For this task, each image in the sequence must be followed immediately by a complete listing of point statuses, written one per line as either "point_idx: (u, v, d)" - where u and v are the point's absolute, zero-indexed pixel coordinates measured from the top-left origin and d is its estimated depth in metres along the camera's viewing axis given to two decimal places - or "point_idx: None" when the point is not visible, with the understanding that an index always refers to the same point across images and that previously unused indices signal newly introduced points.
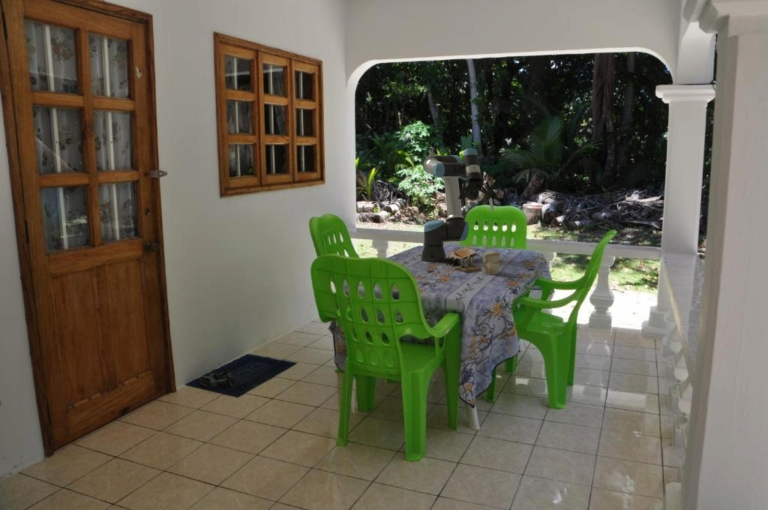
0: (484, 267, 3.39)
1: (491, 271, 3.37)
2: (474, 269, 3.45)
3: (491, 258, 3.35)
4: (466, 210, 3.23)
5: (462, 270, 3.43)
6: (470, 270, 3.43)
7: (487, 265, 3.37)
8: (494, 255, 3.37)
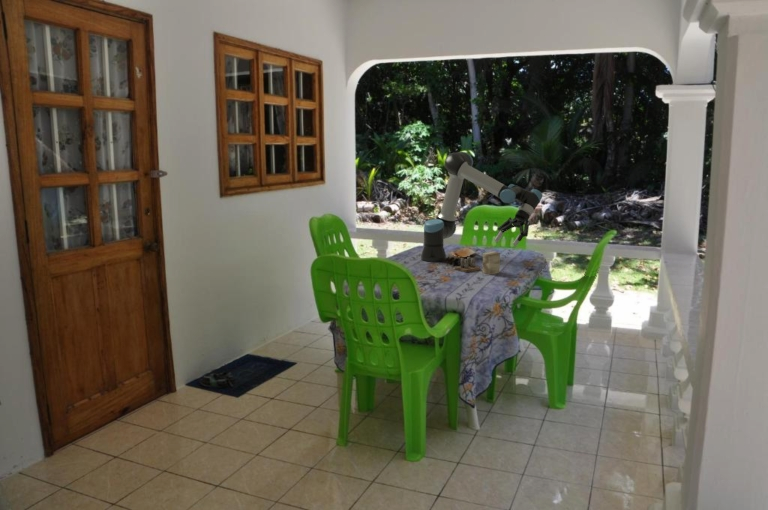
0: (484, 267, 3.39)
1: (491, 271, 3.37)
2: (474, 269, 3.45)
3: (491, 258, 3.35)
4: (515, 245, 3.38)
5: (462, 270, 3.43)
6: (470, 270, 3.43)
7: (487, 265, 3.37)
8: (494, 255, 3.37)
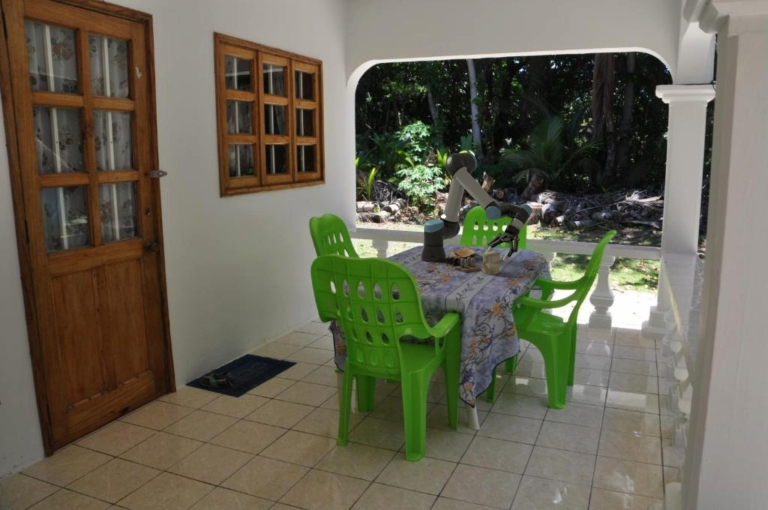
0: (484, 267, 3.39)
1: (491, 271, 3.37)
2: (474, 269, 3.45)
3: (491, 258, 3.35)
4: (504, 261, 3.34)
5: (462, 270, 3.43)
6: (470, 270, 3.43)
7: (487, 265, 3.37)
8: (494, 255, 3.37)
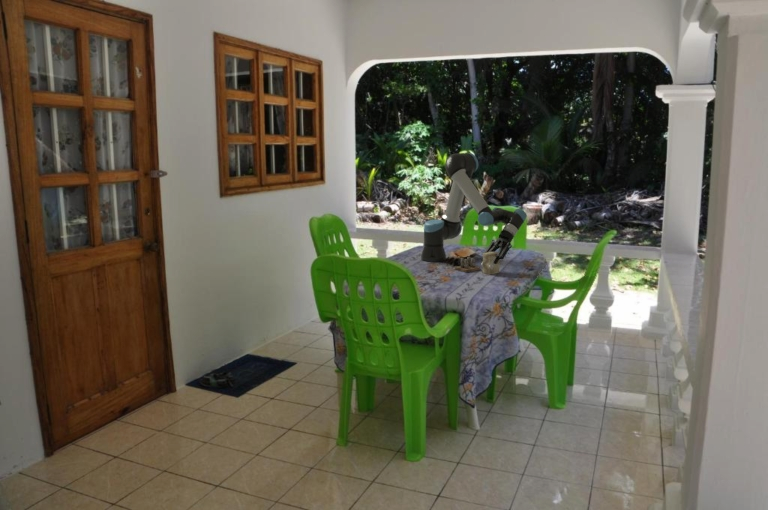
0: (484, 267, 3.39)
1: (491, 271, 3.37)
2: (474, 269, 3.45)
3: (491, 258, 3.35)
4: (490, 268, 3.35)
5: (462, 270, 3.43)
6: (470, 270, 3.43)
7: (487, 265, 3.37)
8: (494, 255, 3.37)
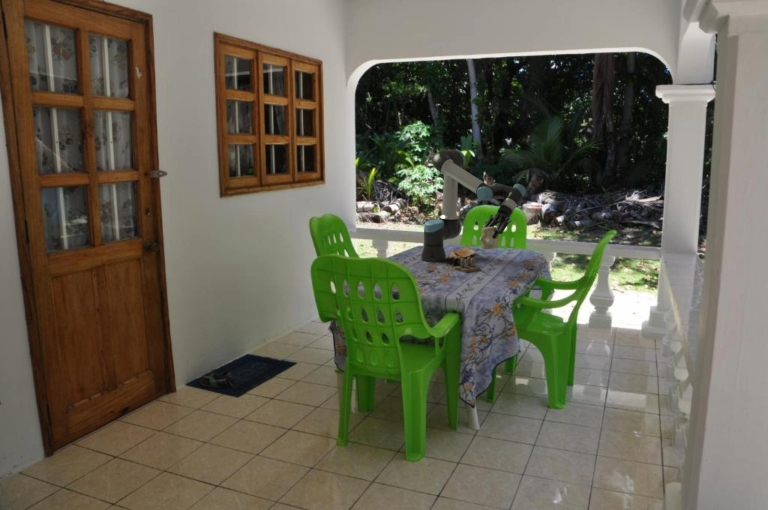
0: (483, 242, 3.36)
1: (490, 246, 3.35)
2: (474, 269, 3.45)
3: (490, 232, 3.33)
4: (489, 242, 3.33)
5: (462, 270, 3.43)
6: (470, 270, 3.43)
7: (485, 240, 3.35)
8: (493, 230, 3.34)
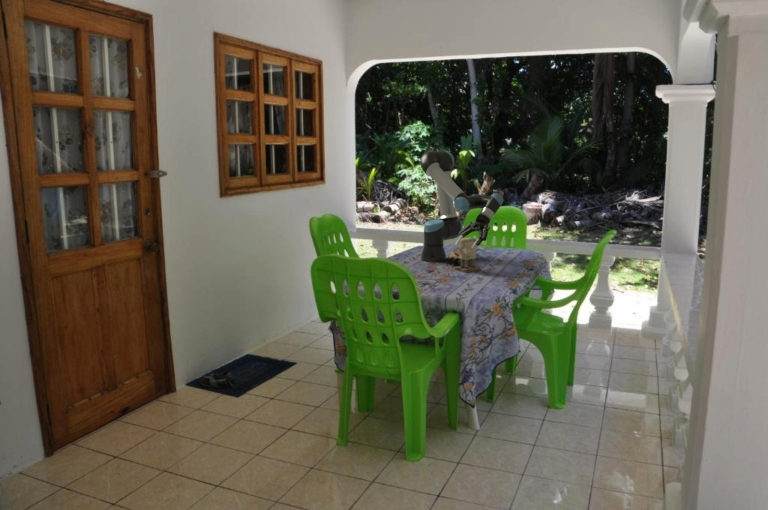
0: (461, 253, 3.45)
1: (468, 256, 3.43)
2: (474, 269, 3.45)
3: (467, 243, 3.41)
4: (473, 249, 3.39)
5: (462, 270, 3.43)
6: (470, 270, 3.43)
7: (463, 251, 3.43)
8: (470, 241, 3.43)
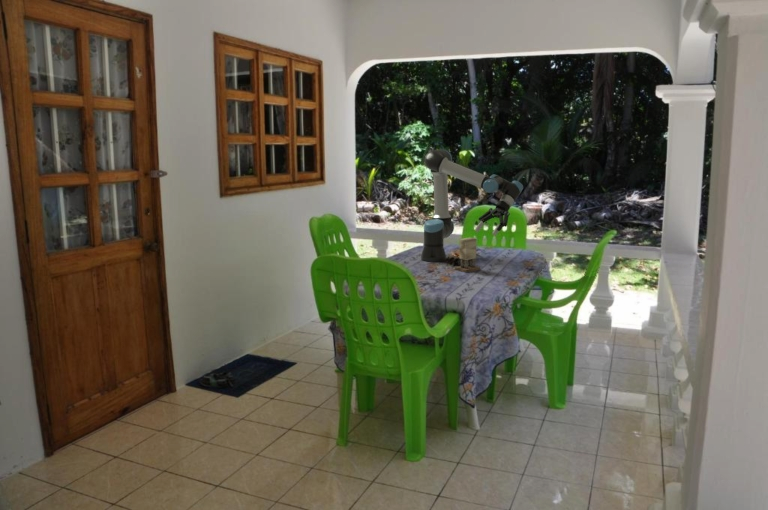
0: (461, 253, 3.45)
1: (468, 256, 3.43)
2: (474, 269, 3.45)
3: (467, 243, 3.41)
4: (494, 234, 3.47)
5: (462, 270, 3.43)
6: (470, 270, 3.43)
7: (463, 251, 3.43)
8: (470, 241, 3.43)
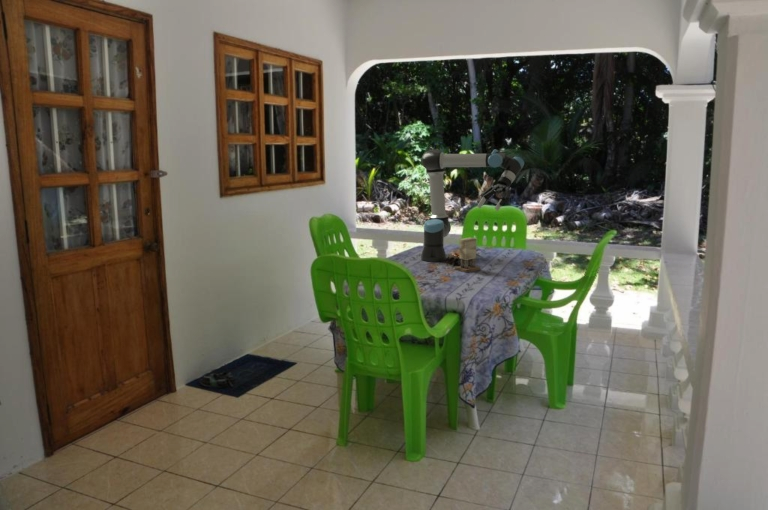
0: (461, 253, 3.45)
1: (468, 256, 3.43)
2: (474, 269, 3.45)
3: (467, 243, 3.41)
4: (496, 209, 3.48)
5: (462, 270, 3.43)
6: (470, 270, 3.43)
7: (463, 251, 3.43)
8: (470, 241, 3.43)
